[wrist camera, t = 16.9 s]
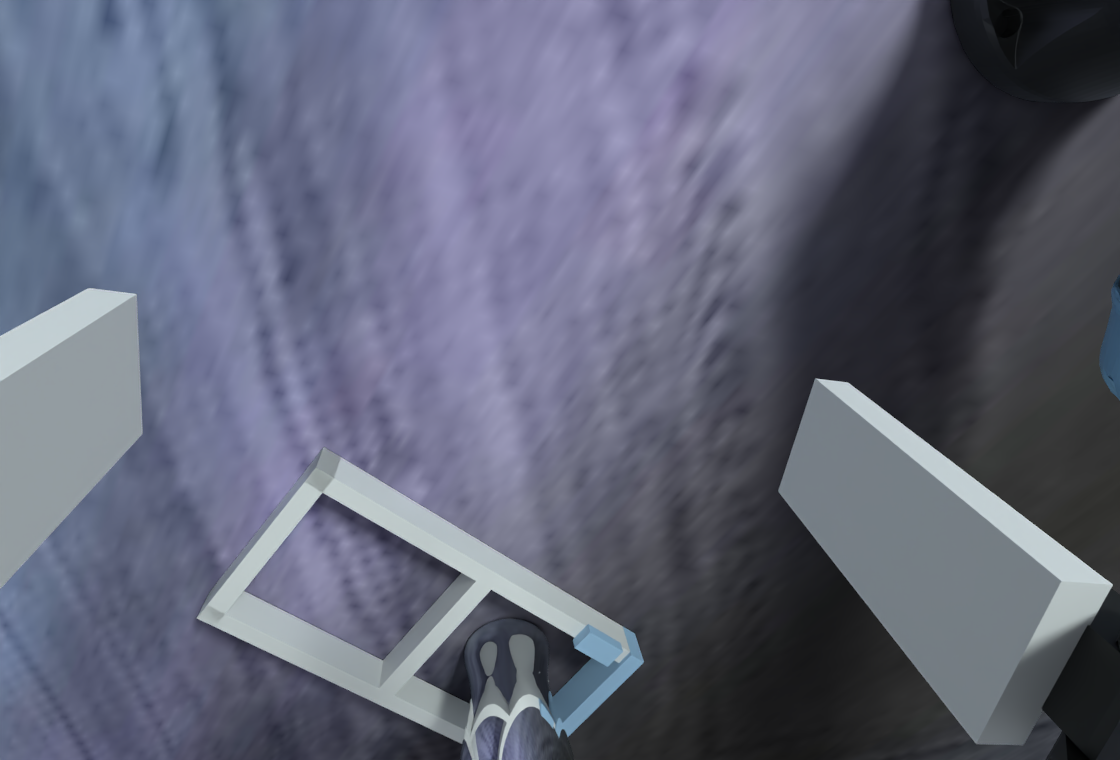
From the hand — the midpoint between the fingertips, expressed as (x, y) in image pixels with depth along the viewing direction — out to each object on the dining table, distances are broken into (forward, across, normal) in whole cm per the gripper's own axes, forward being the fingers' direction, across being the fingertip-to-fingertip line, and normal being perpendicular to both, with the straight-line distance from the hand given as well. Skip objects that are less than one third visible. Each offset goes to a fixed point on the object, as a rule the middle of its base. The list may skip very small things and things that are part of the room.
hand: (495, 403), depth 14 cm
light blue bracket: (+27, +10, -33) cm, 44 cm away
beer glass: (+27, +6, -31) cm, 42 cm away
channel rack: (+27, +1, -28) cm, 39 cm away
